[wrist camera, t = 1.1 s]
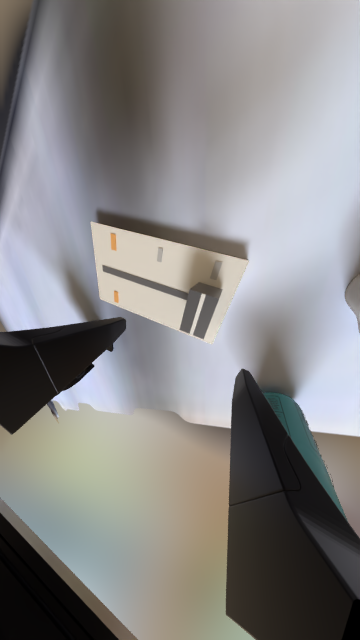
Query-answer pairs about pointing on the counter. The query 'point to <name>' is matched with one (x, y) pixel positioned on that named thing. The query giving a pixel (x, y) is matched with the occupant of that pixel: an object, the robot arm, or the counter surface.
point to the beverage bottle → (302, 438)
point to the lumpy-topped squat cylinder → (354, 297)
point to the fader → (199, 309)
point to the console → (161, 275)
